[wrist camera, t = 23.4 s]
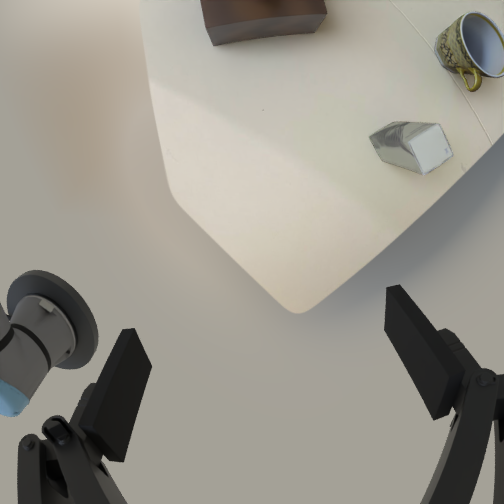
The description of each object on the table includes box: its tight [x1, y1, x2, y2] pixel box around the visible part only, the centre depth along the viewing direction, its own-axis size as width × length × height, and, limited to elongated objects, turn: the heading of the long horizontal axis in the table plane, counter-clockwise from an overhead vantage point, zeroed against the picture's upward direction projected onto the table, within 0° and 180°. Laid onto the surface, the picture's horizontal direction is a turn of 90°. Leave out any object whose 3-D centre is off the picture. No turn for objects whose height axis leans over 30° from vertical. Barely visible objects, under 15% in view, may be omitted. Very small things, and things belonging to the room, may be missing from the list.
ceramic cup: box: [435, 11, 504, 92], centre depth 31 cm, size 13×10×10 cm
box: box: [369, 122, 453, 175], centre depth 35 cm, size 5×4×13 cm
